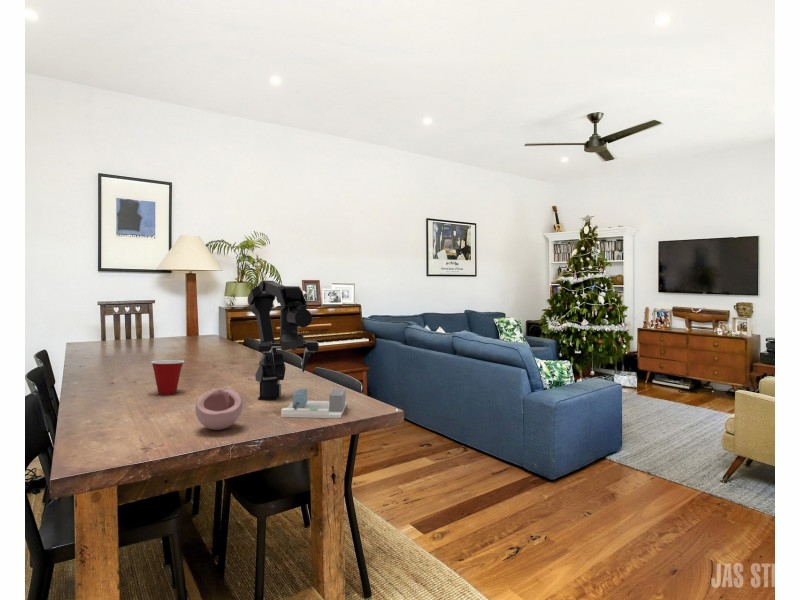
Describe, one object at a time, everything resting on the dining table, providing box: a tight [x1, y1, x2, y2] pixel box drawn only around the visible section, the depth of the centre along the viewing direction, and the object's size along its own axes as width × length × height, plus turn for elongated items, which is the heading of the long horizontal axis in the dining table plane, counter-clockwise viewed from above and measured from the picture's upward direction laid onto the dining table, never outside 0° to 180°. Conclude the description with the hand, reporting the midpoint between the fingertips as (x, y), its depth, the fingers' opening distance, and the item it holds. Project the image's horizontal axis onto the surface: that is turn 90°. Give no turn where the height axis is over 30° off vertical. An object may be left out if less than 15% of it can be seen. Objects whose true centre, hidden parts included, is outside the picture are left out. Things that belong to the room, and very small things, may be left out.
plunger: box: [292, 388, 308, 408], centre depth 143 cm, size 3×12×5 cm, turn 0°
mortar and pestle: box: [194, 387, 243, 431], centre depth 125 cm, size 12×12×11 cm
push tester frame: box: [280, 388, 348, 419], centre depth 145 cm, size 18×16×6 cm
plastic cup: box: [150, 359, 185, 396], centre depth 164 cm, size 11×11×12 cm
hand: (288, 372), depth 148 cm, fingers open, 9 cm apart
